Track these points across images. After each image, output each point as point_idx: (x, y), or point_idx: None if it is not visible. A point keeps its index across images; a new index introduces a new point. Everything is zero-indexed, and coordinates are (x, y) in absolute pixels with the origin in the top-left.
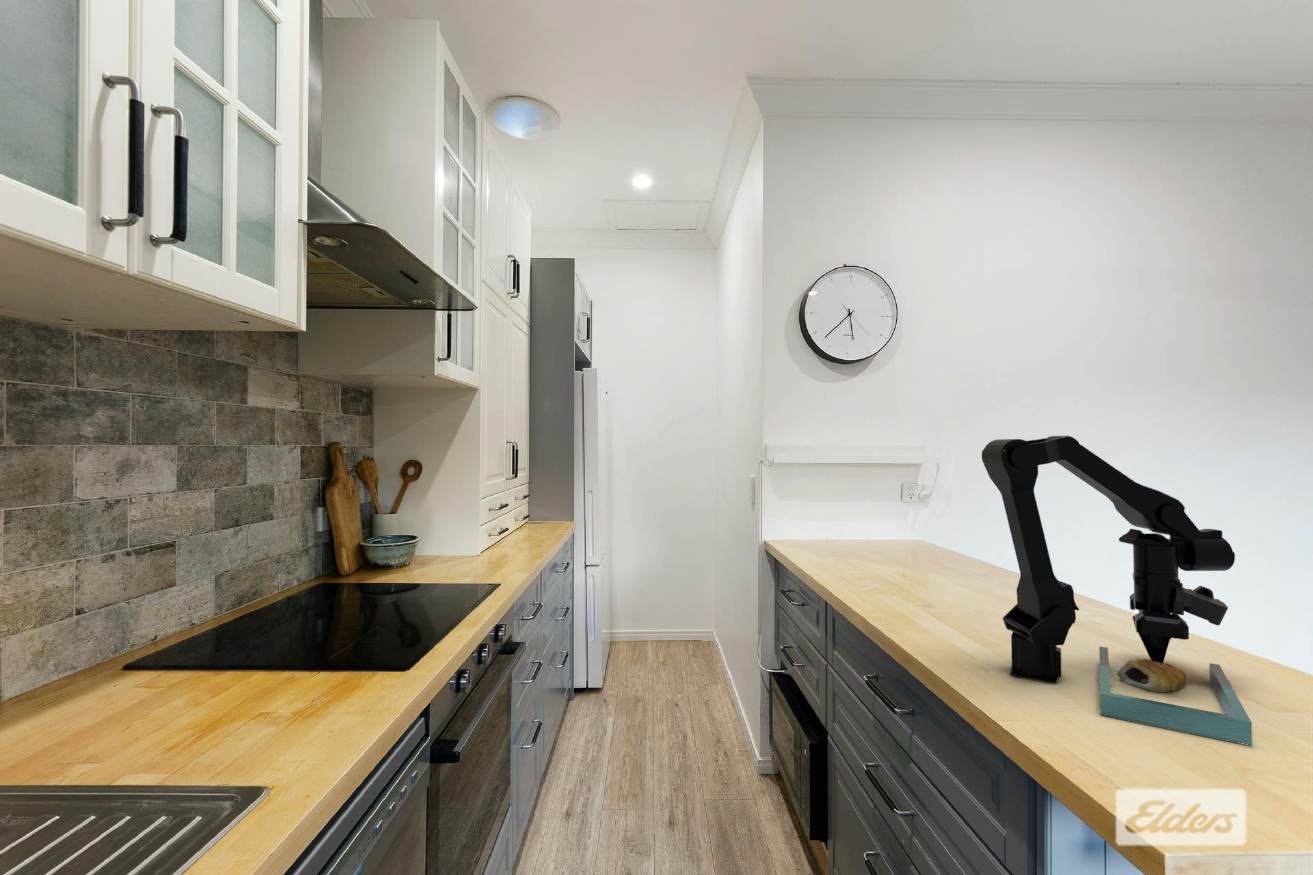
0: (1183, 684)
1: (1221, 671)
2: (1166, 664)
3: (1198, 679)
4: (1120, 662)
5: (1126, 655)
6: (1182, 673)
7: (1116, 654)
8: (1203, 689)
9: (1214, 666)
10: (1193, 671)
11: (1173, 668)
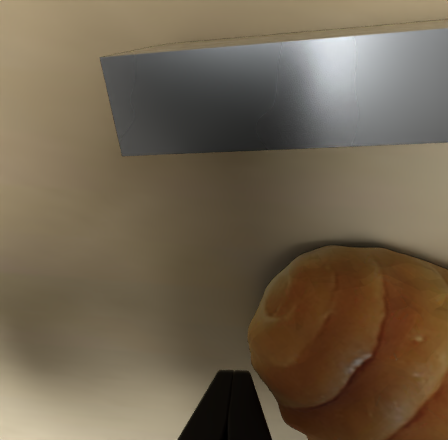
0: (434, 268)
1: (431, 51)
2: (326, 397)
3: (165, 167)
4: (146, 422)
5: (16, 397)
6: (418, 315)
7: (38, 421)
8: (388, 155)
9: (228, 115)
10: (8, 180)
11: (430, 381)
